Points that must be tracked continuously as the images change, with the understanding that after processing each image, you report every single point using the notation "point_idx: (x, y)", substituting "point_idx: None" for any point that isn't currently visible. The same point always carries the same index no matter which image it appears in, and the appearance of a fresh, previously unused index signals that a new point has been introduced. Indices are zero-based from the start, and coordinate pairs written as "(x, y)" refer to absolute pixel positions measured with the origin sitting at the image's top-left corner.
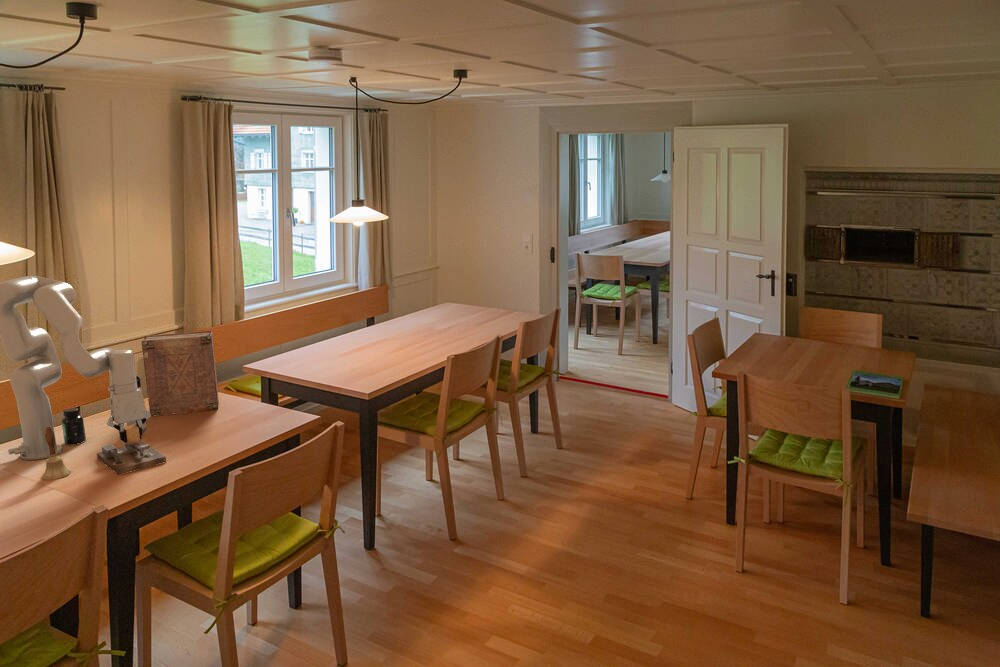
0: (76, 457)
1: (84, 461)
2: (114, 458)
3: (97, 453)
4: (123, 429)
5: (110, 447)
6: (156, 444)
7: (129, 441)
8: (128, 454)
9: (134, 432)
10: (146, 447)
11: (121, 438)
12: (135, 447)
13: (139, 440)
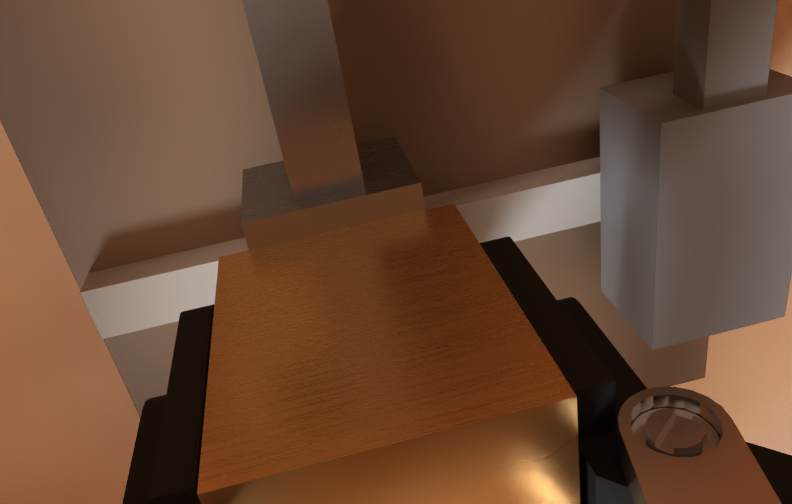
0: (777, 447)
1: (779, 323)
2: (629, 65)
3: (704, 362)
4: (639, 441)
5: (710, 229)
6: (32, 477)
7: (432, 233)
8: (425, 125)
9: (328, 367)
10: (140, 267)
11: (586, 313)
12: (336, 58)
13: (231, 262)
